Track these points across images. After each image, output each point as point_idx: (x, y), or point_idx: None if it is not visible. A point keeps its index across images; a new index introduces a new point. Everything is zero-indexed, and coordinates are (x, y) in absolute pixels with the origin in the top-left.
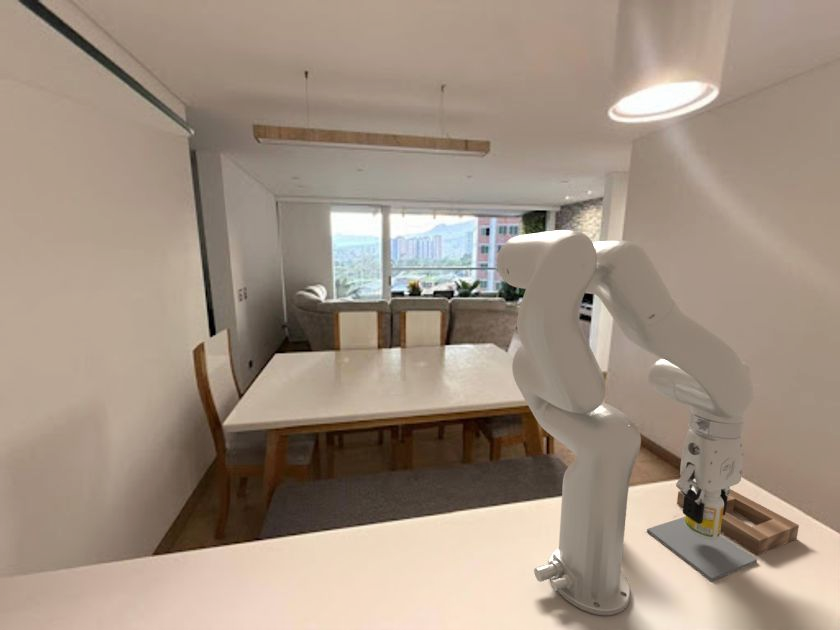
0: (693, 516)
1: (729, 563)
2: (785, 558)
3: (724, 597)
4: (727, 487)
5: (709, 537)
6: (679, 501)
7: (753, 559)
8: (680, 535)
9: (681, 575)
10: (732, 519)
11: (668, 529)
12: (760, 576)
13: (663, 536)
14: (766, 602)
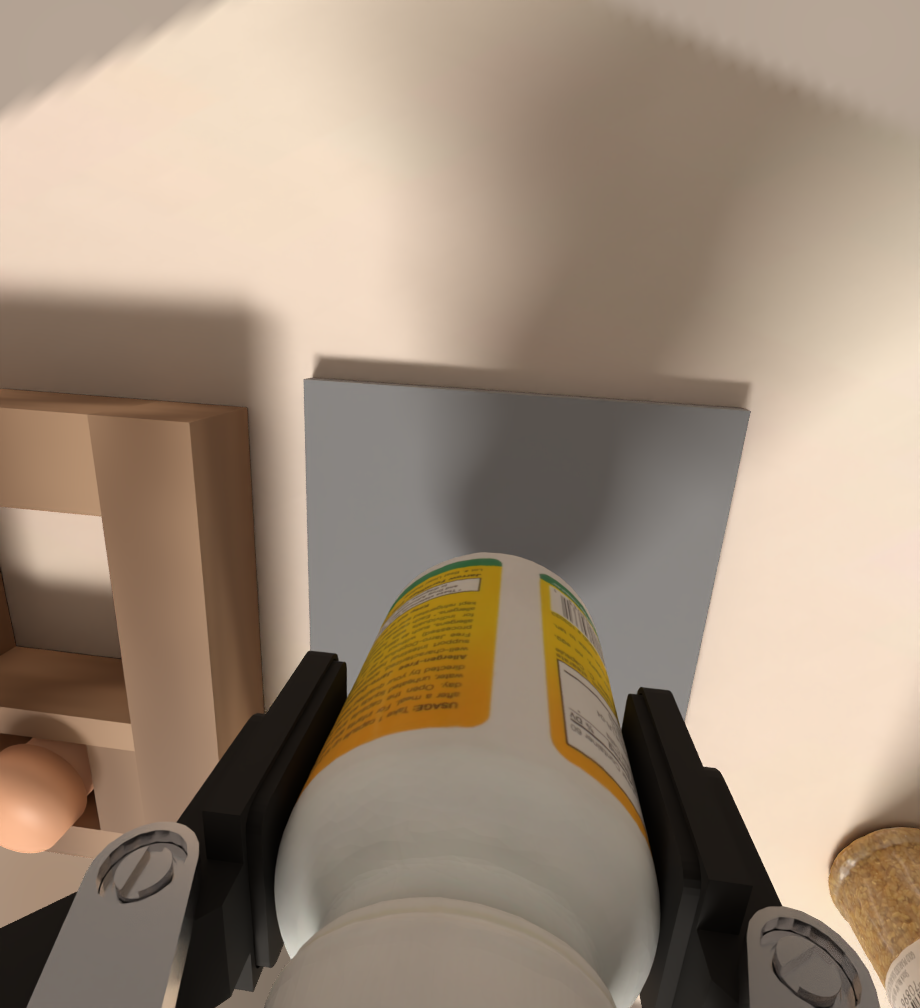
0: (719, 772)
1: (506, 432)
2: (111, 323)
3: (810, 305)
4: (103, 964)
5: (560, 579)
6: None
7: (328, 388)
8: None
9: (857, 508)
10: (153, 607)
11: None
12: (412, 307)
13: None
14: (610, 174)
